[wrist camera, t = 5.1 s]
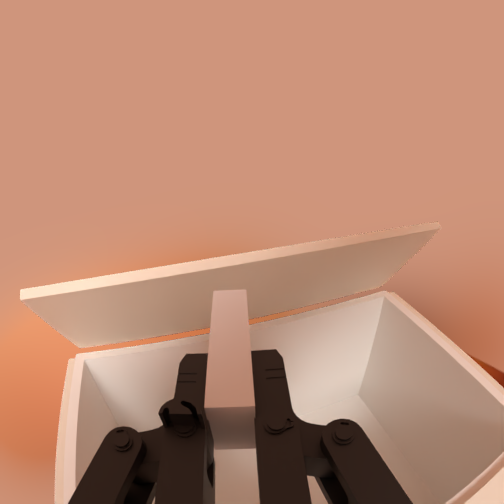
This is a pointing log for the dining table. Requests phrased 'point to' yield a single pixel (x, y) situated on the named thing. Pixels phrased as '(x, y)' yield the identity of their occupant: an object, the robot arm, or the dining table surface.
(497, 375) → the dining table surface
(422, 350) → the carton
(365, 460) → the robot arm
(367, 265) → the front flap
